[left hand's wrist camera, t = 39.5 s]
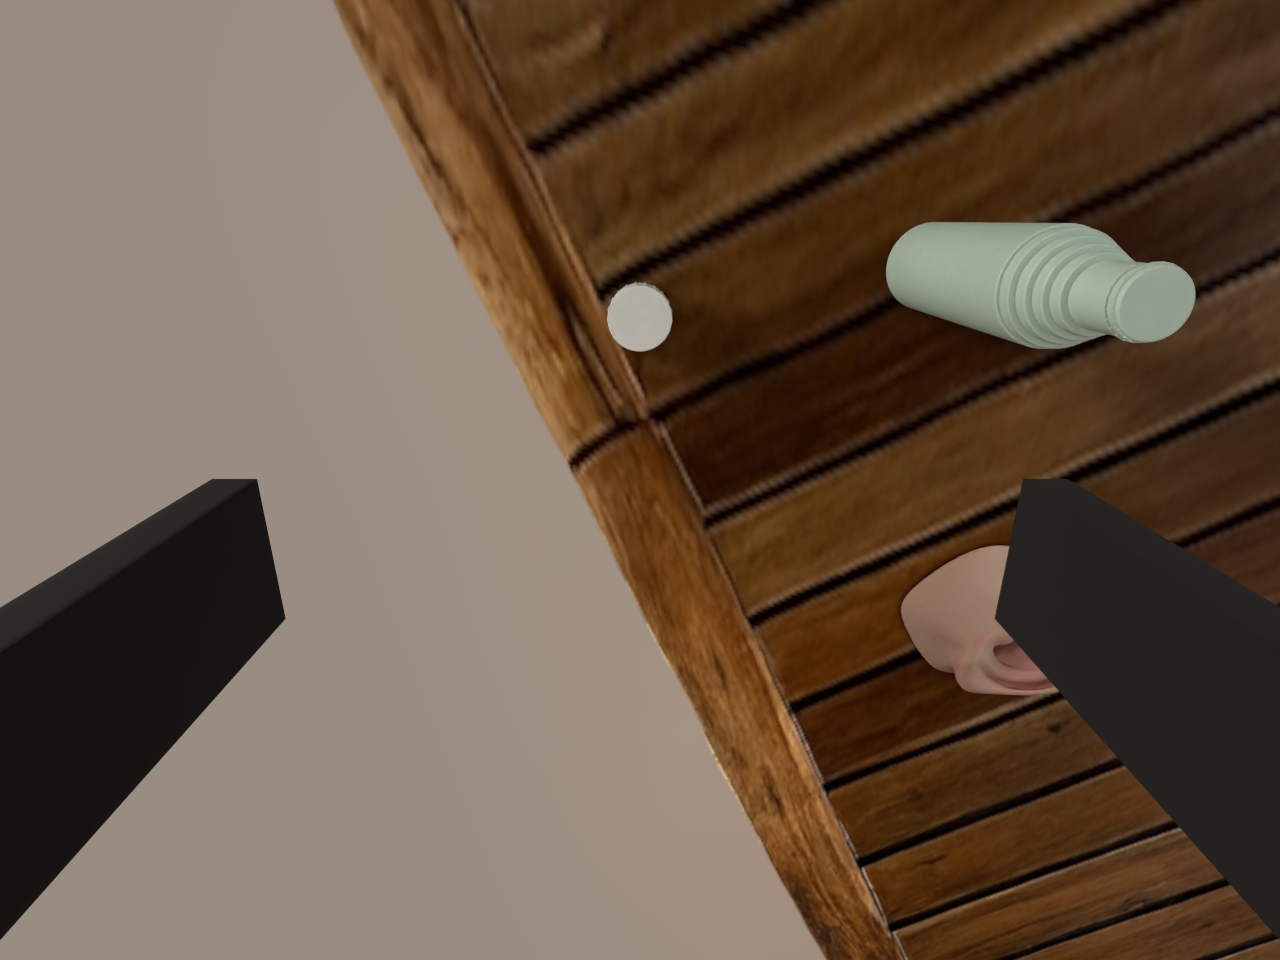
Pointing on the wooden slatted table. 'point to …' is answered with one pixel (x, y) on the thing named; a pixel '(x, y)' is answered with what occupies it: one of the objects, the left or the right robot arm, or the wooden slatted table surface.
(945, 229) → the bottle
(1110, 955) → the wooden slatted table surface
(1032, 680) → the anatomical model
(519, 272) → the wooden slatted table surface
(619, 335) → the cap
